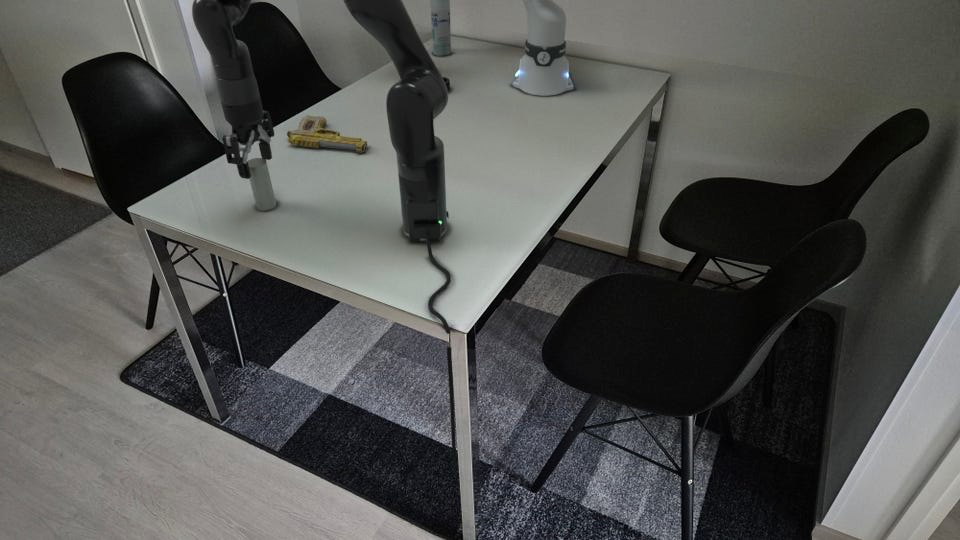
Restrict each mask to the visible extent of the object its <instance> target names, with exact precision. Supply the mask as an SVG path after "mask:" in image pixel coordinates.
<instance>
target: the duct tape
mask: <svg viewBox="0 0 960 540" xmlns="http://www.w3.org/2000/svg"><path fill="white" fill-rule="evenodd" d="M442 77H443V79H444V82H445V84H446V87H447V90H448V92H450V91H451V81H450V78H449V77H445V76H442Z"/></svg>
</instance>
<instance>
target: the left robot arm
mask: <svg viewBox="0 0 960 540" xmlns="http://www.w3.org/2000/svg"><path fill="white" fill-rule="evenodd" d="M342 1H343V2H344V4H345V7H346V8H347V10H348V12H349V13H350V15H351V17H352V18H353V19H354V20H355V21H356V23H358V24H359V25H360V26H361V27H362V28H363V29H364V30H365V31H366V32H367V33H368V34H369V35H371V36H372V37H373V38H374V39H375V40H376V41H377V42H378V43H379V44H380V45H381V46H382V47H383V49H384V50H385V51H386V52H387V54H388V56H389V58H390V59H391V61H392V63H393V65H394V67H395V70H396V72H397V74H398V76H399V80H398V81H397V82H395V83H394V84H393V85H392V86H391V87H390V88H389V90H388V92H387V95H386V103H385V105H386V117H387V124H388V131H389V137H390V141H391V145H392V147H393V149H394V151H395V153H396V154H395V155H396V163H397V176H398V185H399V197H400V208H401V218H402V219H401V220H402V233H403V234H404V236H405V237H406V238H407V239H408V240H409V242H410V243H426V247H427V253H428V257H429V260H430V262H431V263H432V264H433V266H435V267H436V268H437V269H438V270H439V271H441V272H442V273H444V274H445V277H446V281H445V283H444V284H442V285H441V286H440V287H439V288H438V289H437V290H436V291H434V293H432V294H431V296H430V297H429V300H428V302H427V307H428V310H429V312H430V313H431V314H432V315H434V316H435V317H436V318H437V319H438V320H440V322H441V324H442V325H443V328H444V330H445V333H446V334H447V335H449V334H451V329H450V326H449V323H448V322H447V320H446V318H445V317H444V316H443V314H440V312H438V311H437V310H436V309H435V308H434V307H433V303H434V300H435V299H436V297H438V296H439V294H441V293H442V292H443V291H445V290H446V288H448V286H449V285H450V283H451V274H450V272H449V271H448V270H447V268H445V267H443V266H442V265H441V264H440V263H439V262H437V260H436V259H435V257H434V254H433V249H432V244H431V243H432V242H435V243H436V242H440V241H441V238H443V237H444V236H446V234H447V232H448V229H449V227H448V225H449V224H448V219H449V218H450V217H449V215H450V214H449V211H448V210H447V190H446V188H447V187H446V166H445V165H446V164H445V163H446V162H445V145H444V142H443V140H442V139H441V138H440V137H438V136H436V135H435V126H434V120H435V119H436V118H438V117H439V116H440V114H442V112H444V110H445V109H446V107H447V105H448V102H449V91H448V90H447V87H446V84H445V82H444V79H443V77H444V76H443V75H442V73H441V72H440V70H439V68H438V67H437V65H436V64H435V61H433V58H432V56H431V54H430V53H429V52H428V50H427V48H426V45H424V43H423V41H422V39H421V37H420V35H419V34H418V31H417V28H416V26H415V24H414V23H413V20H412V18H411V15H410V14H409V12H408V10H407V8H406V6H405V3H404V1H403V0H342ZM251 3H252V0H193V2H192V5H191V15H192V20H193V23H194V26H195V29H196V31H197V33H198V34H199V37H200V38H201V41H202V42H203V44H204V46H205V48H206V50H207V51H208V53H209V55H210V59H211V64H212V67H213V71H214V75H215V80H216V88H217V92H218V97H219V100H220V105H221V108H222V113H223V116H224V119H225V121H226V122H227V123H228V124H229V125H230V127H231V133H230V134H228V135H225V134H224V135H223V136H222V138H221V139H222V144H223V148H224V153H225V158H226V161H227V164H231V165H236V168H237V173H238V175H239V177H240V178H241V179H246V180H249V178H250V177H251V173H250V169H249V165H248V162H247V161H248V157H249V154H250V153H251V152H252V146H253V145H254V144H255V143H256V142H259V143H258V148H259V152H260V156H261V157H260V158H263V159H265V160H266V161H271V160H272V159H273V155H272V152H273V151H272V148H271V145H270V144H271V142H272V138H274V137H275V130H274V126H273V121H272V118H271V115H270V111H269V110H264V107H263V104H262V99H261V94H260V89H259V85H258V81H257V78H256V76H255V73H254V68H253V64H252V59H251V54H250V50H249V48H248V46H247V44H246V43H245V42H244V41H242V40H240V39H237V38H236V36H235V33H234V31H233V27H235V26H236V25H238V24H239V23H241V22H242V21H243V19H244V18H245V16H246V15H247V13H248V12H249V9H250V6H251ZM266 128H267V129H266ZM242 146H245V147H242ZM241 152H242V154H241ZM446 360H447V362H446V363H447V373H448V374H447V375H448V390H449V391H448V392H449V408H450V409H449V411H450V433H451V455H452V474H453V477H454V476H457V475H458V470H457V469H458V468H457V467H458V466H457V446H456V445H457V444H456V443H457V442H456V417H455V416H456V415H455V393H454V376H453V375H454V374H453V359H452V347H451V346H447V347H446Z"/></svg>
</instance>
